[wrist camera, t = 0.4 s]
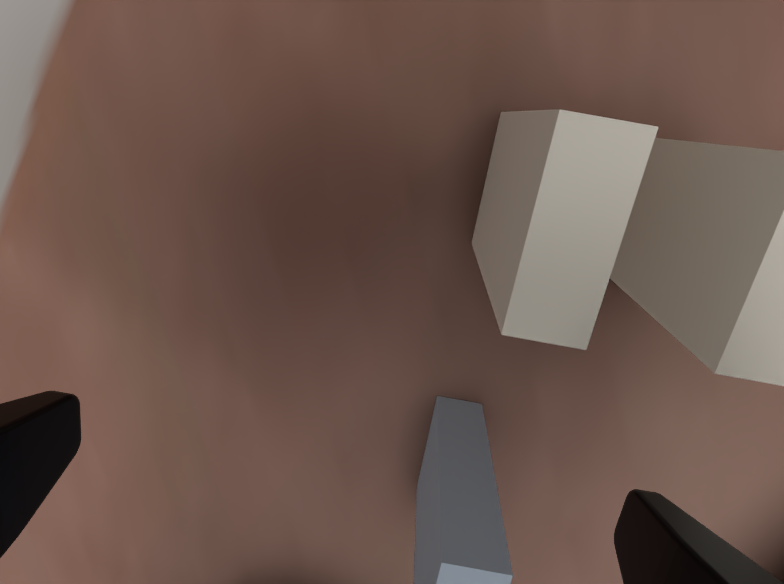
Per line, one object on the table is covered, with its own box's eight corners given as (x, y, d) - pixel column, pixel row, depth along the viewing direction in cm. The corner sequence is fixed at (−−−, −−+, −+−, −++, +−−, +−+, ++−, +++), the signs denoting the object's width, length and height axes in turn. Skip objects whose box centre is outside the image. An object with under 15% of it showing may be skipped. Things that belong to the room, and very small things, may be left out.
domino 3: (645, 274, 20) (800, 389, 12) (595, 265, 20) (714, 373, 12) (690, 145, 19) (907, 170, 10) (636, 135, 19) (808, 153, 10)
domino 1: (458, 494, 24) (473, 696, 16) (416, 486, 24) (410, 684, 16) (481, 403, 23) (512, 576, 14) (437, 395, 23) (441, 562, 14)
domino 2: (521, 252, 20) (586, 350, 12) (471, 243, 20) (501, 334, 12) (555, 121, 19) (658, 126, 10) (500, 111, 19) (559, 109, 10)
